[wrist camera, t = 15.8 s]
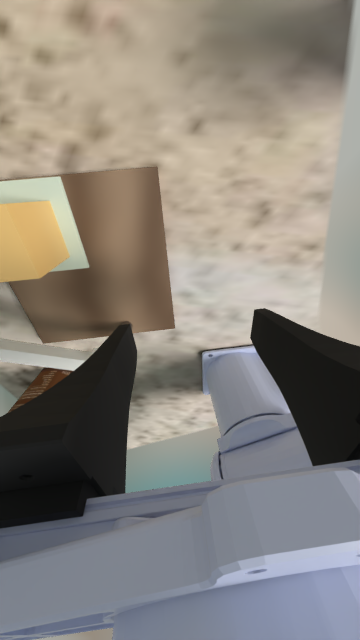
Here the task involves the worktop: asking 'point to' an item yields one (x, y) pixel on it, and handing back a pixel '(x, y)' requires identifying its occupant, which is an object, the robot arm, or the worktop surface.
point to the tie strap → (42, 355)
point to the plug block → (29, 241)
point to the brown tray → (106, 261)
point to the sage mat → (56, 195)
